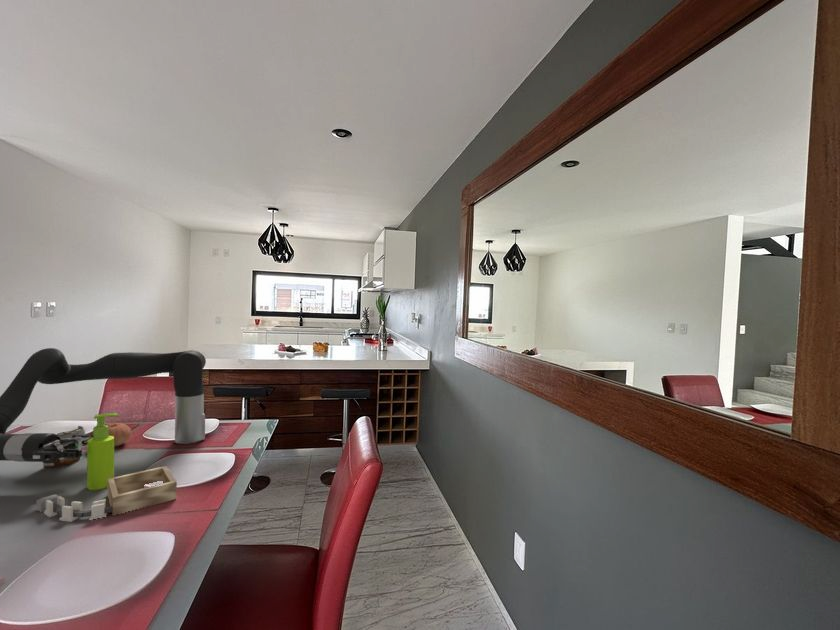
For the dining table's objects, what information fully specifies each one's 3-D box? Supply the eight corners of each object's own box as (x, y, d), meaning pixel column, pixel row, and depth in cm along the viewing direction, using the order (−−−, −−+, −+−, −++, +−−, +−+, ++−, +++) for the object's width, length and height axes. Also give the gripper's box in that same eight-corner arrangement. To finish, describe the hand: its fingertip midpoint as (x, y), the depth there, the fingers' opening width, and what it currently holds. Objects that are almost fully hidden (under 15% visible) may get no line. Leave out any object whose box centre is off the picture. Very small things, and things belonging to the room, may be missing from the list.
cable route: (51, 502, 102) (51, 490, 102) (115, 512, 98) (115, 499, 98) (24, 514, 96) (24, 501, 96) (91, 525, 92) (91, 511, 92)
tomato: (128, 438, 149) (128, 417, 149) (133, 446, 142) (133, 424, 141) (90, 445, 142) (90, 423, 141) (94, 454, 134) (94, 430, 134)
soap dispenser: (117, 486, 112) (117, 415, 111) (85, 491, 108) (85, 418, 108) (119, 478, 117) (120, 410, 116) (89, 483, 113) (89, 413, 113)
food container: (54, 472, 119) (54, 439, 119) (38, 470, 121) (37, 437, 120) (95, 456, 132) (95, 426, 131) (80, 455, 133) (80, 425, 132)
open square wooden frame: (166, 481, 116) (166, 465, 115) (176, 498, 106) (176, 481, 106) (107, 495, 107) (107, 478, 106) (112, 516, 97) (112, 497, 97)
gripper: (55, 450, 118) (111, 451, 119) (7, 471, 104) (72, 471, 105) (54, 425, 118) (111, 426, 119) (7, 443, 104) (71, 443, 104)
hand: (92, 447), depth 112 cm, fingers open, 8 cm apart
